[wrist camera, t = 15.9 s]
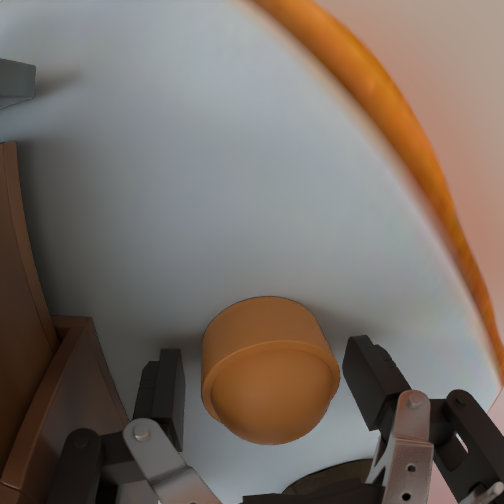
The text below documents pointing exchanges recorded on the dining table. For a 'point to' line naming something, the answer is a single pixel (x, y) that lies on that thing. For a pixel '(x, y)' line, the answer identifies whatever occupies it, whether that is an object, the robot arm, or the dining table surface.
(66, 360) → the cabinet
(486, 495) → the robot arm
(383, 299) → the dining table surface
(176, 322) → the dining table surface
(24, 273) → the drawer
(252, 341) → the orange domed cylinder
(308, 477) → the pillar candle
